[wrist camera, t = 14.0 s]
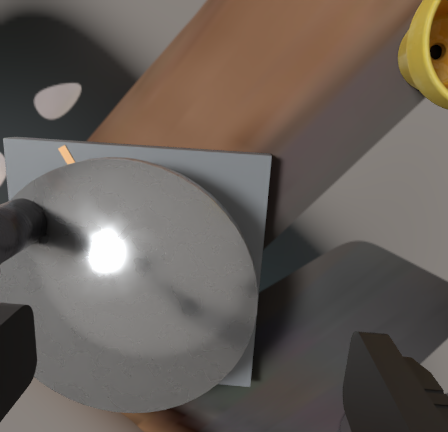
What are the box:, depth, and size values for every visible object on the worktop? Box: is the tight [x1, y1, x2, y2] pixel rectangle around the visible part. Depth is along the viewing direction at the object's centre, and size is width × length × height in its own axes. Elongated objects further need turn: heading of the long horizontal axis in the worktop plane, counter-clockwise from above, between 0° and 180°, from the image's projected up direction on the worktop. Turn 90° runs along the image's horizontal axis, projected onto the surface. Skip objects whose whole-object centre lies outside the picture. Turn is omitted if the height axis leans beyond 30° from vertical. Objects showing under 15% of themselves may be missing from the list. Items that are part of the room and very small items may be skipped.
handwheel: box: [0, 157, 258, 413], centre depth 32 cm, size 25×25×8 cm
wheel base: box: [3, 137, 272, 387], centre depth 39 cm, size 26×26×6 cm
